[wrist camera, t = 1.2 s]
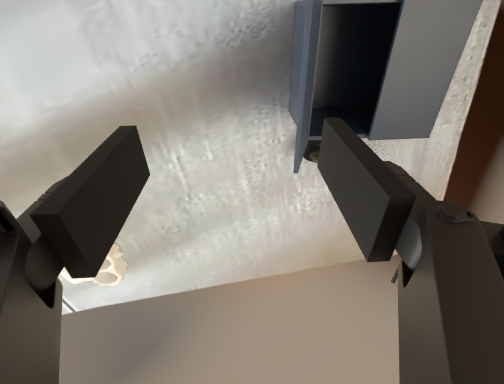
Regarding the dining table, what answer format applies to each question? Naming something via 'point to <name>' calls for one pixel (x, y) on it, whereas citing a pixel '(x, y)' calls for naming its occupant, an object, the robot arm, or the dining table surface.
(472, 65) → the dining table surface
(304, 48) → the flap
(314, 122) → the carton
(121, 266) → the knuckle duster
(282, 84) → the dining table surface
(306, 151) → the olive green pouch
